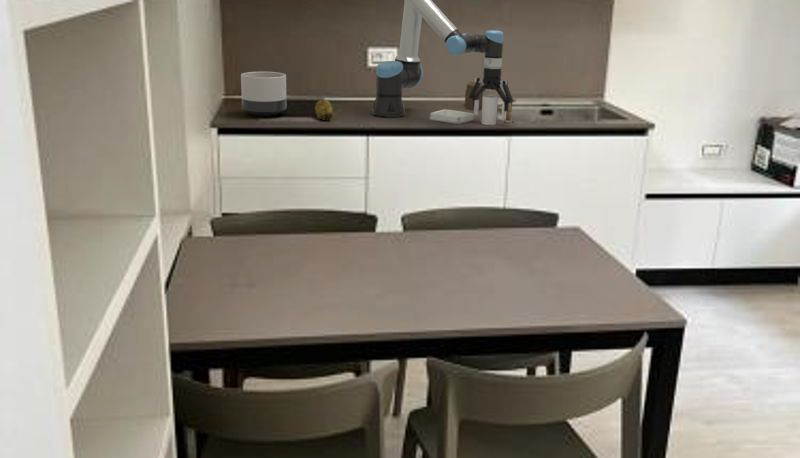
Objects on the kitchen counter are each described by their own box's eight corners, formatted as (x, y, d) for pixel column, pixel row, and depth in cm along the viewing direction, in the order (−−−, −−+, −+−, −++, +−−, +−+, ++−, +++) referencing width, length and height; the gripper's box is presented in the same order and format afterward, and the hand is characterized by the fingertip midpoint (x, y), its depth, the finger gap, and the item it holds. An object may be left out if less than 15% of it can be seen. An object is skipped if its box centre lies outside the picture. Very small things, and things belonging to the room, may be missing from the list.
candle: (483, 111, 374) (485, 79, 369) (457, 108, 380) (459, 77, 376) (495, 108, 385) (497, 77, 380) (470, 104, 392) (472, 74, 387)
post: (501, 121, 351) (502, 98, 348) (505, 120, 354) (506, 97, 351) (511, 123, 348) (513, 99, 345) (515, 121, 352) (517, 98, 348)
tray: (429, 119, 350) (430, 113, 349) (444, 115, 360) (444, 109, 359) (459, 124, 342) (459, 117, 341) (473, 120, 352) (473, 113, 351)
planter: (273, 120, 336) (273, 78, 331) (234, 116, 342) (232, 75, 337) (294, 113, 354) (293, 73, 348) (255, 109, 360) (254, 70, 354)
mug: (495, 125, 341) (497, 98, 338) (480, 124, 343) (481, 97, 339) (497, 121, 351) (499, 94, 347) (482, 120, 352) (484, 93, 348)
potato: (312, 121, 338) (312, 102, 335) (316, 116, 350) (316, 98, 347) (332, 122, 337) (332, 103, 335) (334, 116, 350) (335, 98, 347)
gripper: (463, 65, 342) (460, 114, 349) (515, 71, 330) (511, 121, 336) (471, 64, 348) (468, 112, 355) (522, 69, 336) (519, 118, 342)
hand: (489, 116), depth 346 cm, fingers open, 13 cm apart
